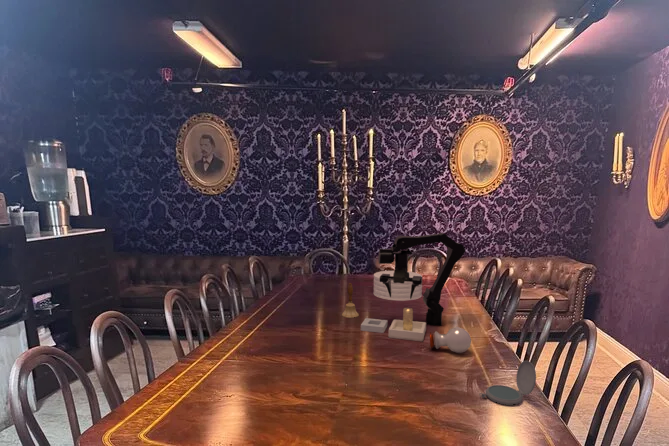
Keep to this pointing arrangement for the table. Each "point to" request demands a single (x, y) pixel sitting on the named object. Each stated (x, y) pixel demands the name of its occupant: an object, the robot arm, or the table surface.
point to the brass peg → (408, 319)
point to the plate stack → (396, 288)
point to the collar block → (374, 325)
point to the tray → (399, 333)
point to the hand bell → (350, 305)
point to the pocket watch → (508, 394)
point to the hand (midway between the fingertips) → (400, 297)
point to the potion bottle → (451, 340)
